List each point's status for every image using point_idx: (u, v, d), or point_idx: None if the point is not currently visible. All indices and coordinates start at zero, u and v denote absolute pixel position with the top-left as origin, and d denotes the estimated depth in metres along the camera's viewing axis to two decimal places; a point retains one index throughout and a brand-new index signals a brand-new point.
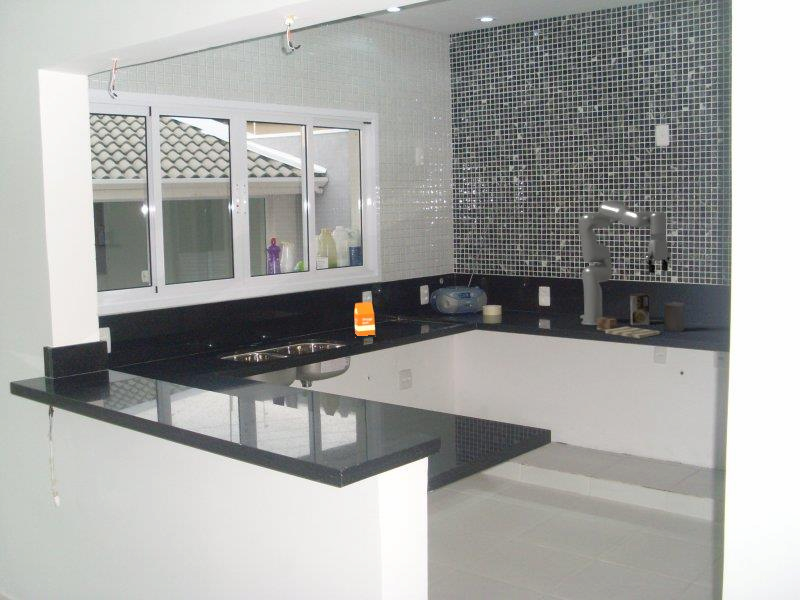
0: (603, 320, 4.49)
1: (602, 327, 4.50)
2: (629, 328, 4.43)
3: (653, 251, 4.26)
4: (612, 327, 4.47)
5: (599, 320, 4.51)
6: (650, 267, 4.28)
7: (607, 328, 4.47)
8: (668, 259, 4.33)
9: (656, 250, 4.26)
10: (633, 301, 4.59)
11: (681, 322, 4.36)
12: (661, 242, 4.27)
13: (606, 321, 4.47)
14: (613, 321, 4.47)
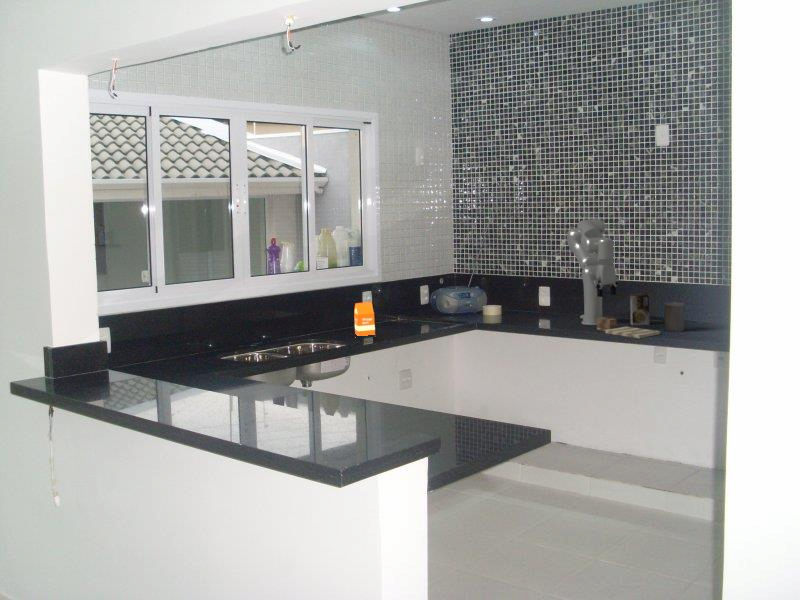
0: (603, 320, 4.49)
1: (602, 327, 4.50)
2: (629, 328, 4.43)
3: (601, 276, 4.43)
4: (612, 327, 4.47)
5: (599, 320, 4.51)
6: (598, 291, 4.45)
7: (607, 328, 4.47)
8: (616, 283, 4.51)
9: (604, 275, 4.43)
10: (633, 301, 4.59)
11: (681, 322, 4.36)
12: (608, 267, 4.44)
13: (606, 321, 4.47)
14: (613, 321, 4.47)
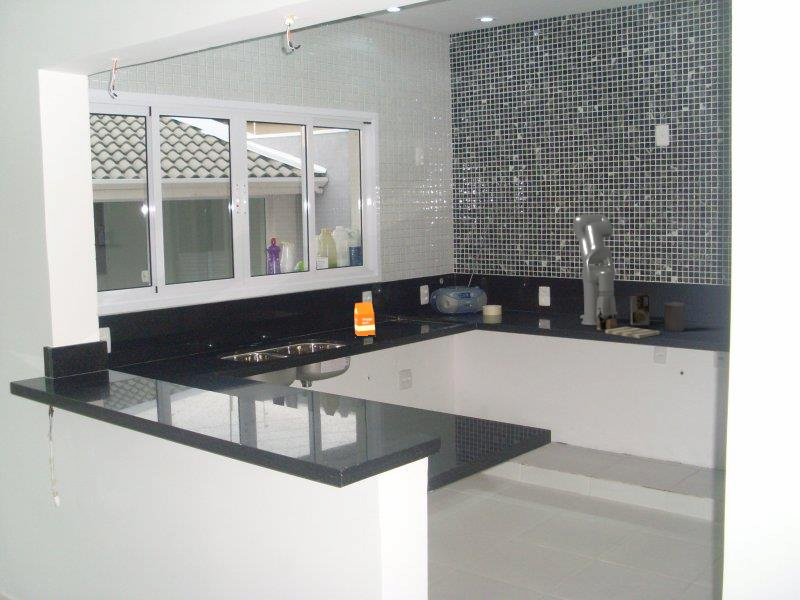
0: None
1: None
2: (629, 328, 4.43)
3: (601, 307, 4.46)
4: (612, 327, 4.47)
5: None
6: (601, 324, 4.48)
7: (607, 328, 4.47)
8: (614, 317, 4.52)
9: (604, 307, 4.45)
10: (633, 301, 4.59)
11: (681, 322, 4.36)
12: (609, 299, 4.46)
13: (606, 321, 4.47)
14: (613, 321, 4.47)
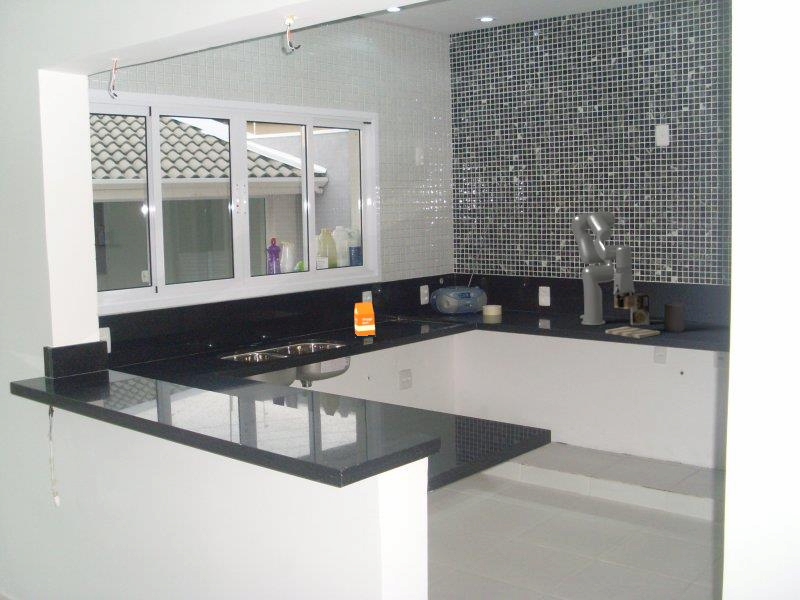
0: None
1: None
2: (629, 328, 4.43)
3: (619, 284, 4.34)
4: (630, 304, 4.35)
5: None
6: (619, 302, 4.37)
7: (625, 305, 4.35)
8: (631, 294, 4.40)
9: (622, 283, 4.34)
10: None
11: (681, 322, 4.36)
12: (626, 276, 4.35)
13: (624, 298, 4.35)
14: (631, 298, 4.35)
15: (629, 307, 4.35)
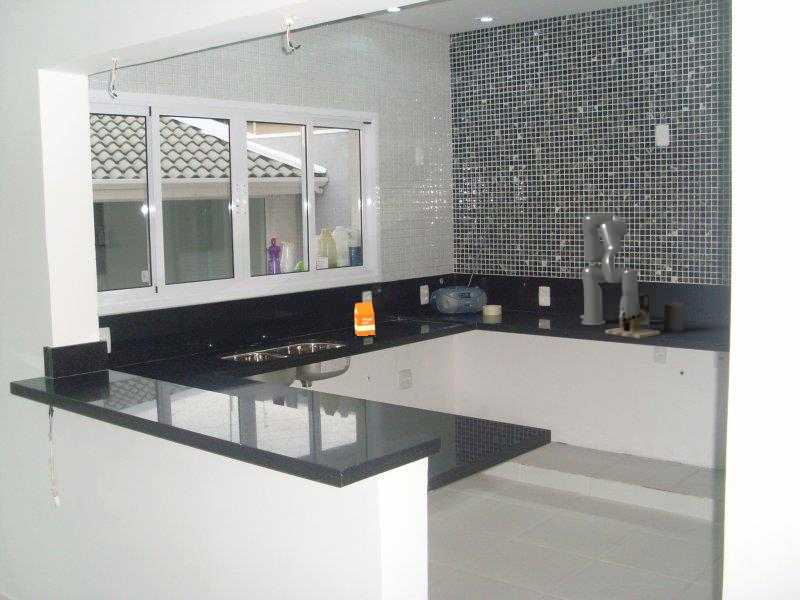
0: None
1: None
2: None
3: (625, 308, 4.32)
4: (635, 327, 4.34)
5: None
6: (625, 325, 4.35)
7: (630, 328, 4.34)
8: (637, 317, 4.39)
9: (628, 307, 4.32)
10: None
11: (681, 322, 4.36)
12: (632, 299, 4.33)
13: (629, 321, 4.34)
14: (637, 321, 4.34)
15: (634, 330, 4.33)
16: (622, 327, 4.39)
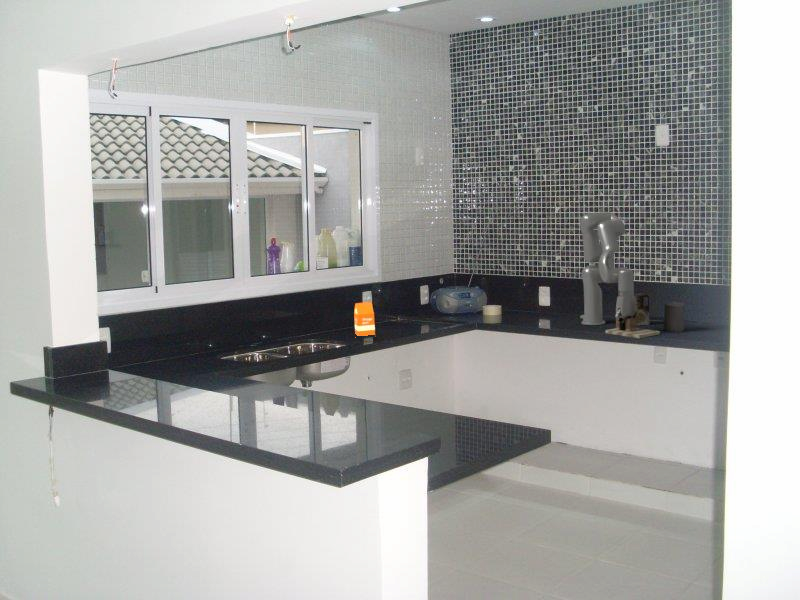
0: None
1: None
2: None
3: (621, 308, 4.35)
4: (632, 326, 4.36)
5: None
6: (621, 325, 4.37)
7: (627, 328, 4.36)
8: (633, 317, 4.41)
9: (624, 307, 4.34)
10: None
11: (681, 322, 4.36)
12: (628, 299, 4.35)
13: (626, 320, 4.36)
14: (633, 320, 4.36)
15: (631, 329, 4.35)
16: (618, 327, 4.41)
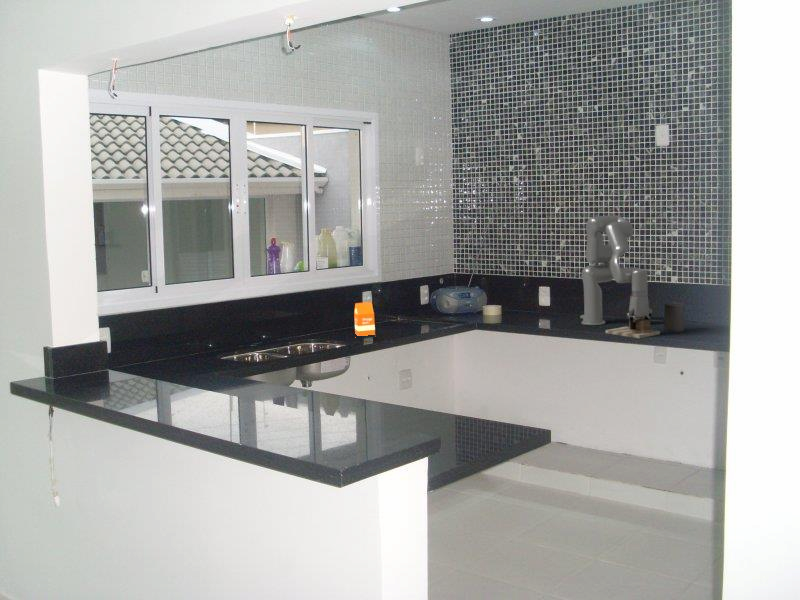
0: (636, 321, 4.31)
1: None
2: None
3: (634, 308, 4.27)
4: (646, 328, 4.28)
5: None
6: (631, 324, 4.29)
7: (640, 330, 4.29)
8: (650, 315, 4.35)
9: (637, 307, 4.27)
10: None
11: (681, 322, 4.36)
12: (642, 299, 4.28)
13: (639, 322, 4.29)
14: (647, 322, 4.28)
15: (645, 331, 4.28)
16: None
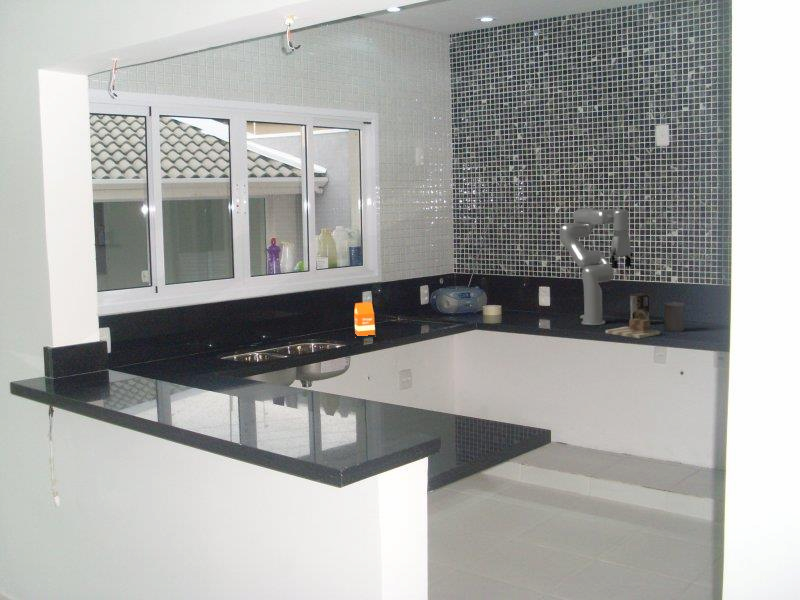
0: (636, 321, 4.31)
1: (635, 328, 4.32)
2: None
3: (616, 247, 4.41)
4: (646, 328, 4.28)
5: (632, 321, 4.33)
6: (613, 263, 4.42)
7: (640, 330, 4.29)
8: (631, 255, 4.48)
9: (619, 246, 4.41)
10: (633, 301, 4.59)
11: (681, 322, 4.36)
12: (623, 239, 4.41)
13: (639, 322, 4.29)
14: (647, 322, 4.28)
15: (645, 331, 4.28)
16: (632, 329, 4.33)
